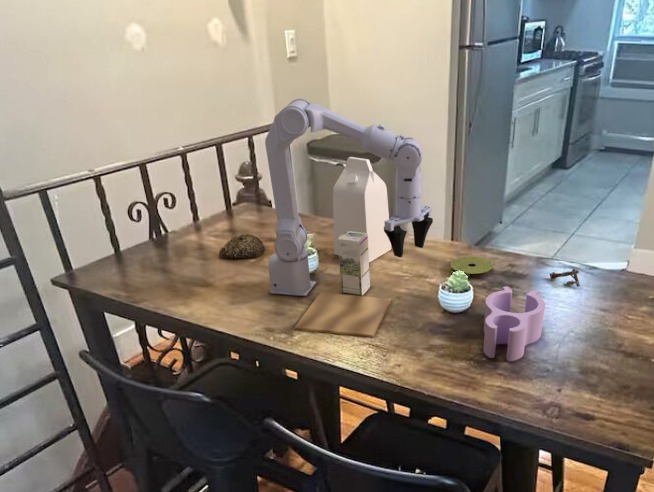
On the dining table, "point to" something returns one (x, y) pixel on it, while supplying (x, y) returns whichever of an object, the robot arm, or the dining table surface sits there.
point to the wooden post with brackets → (573, 272)
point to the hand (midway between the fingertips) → (408, 251)
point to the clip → (511, 323)
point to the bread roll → (242, 247)
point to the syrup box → (354, 262)
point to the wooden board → (344, 314)
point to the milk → (361, 206)
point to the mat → (472, 265)
